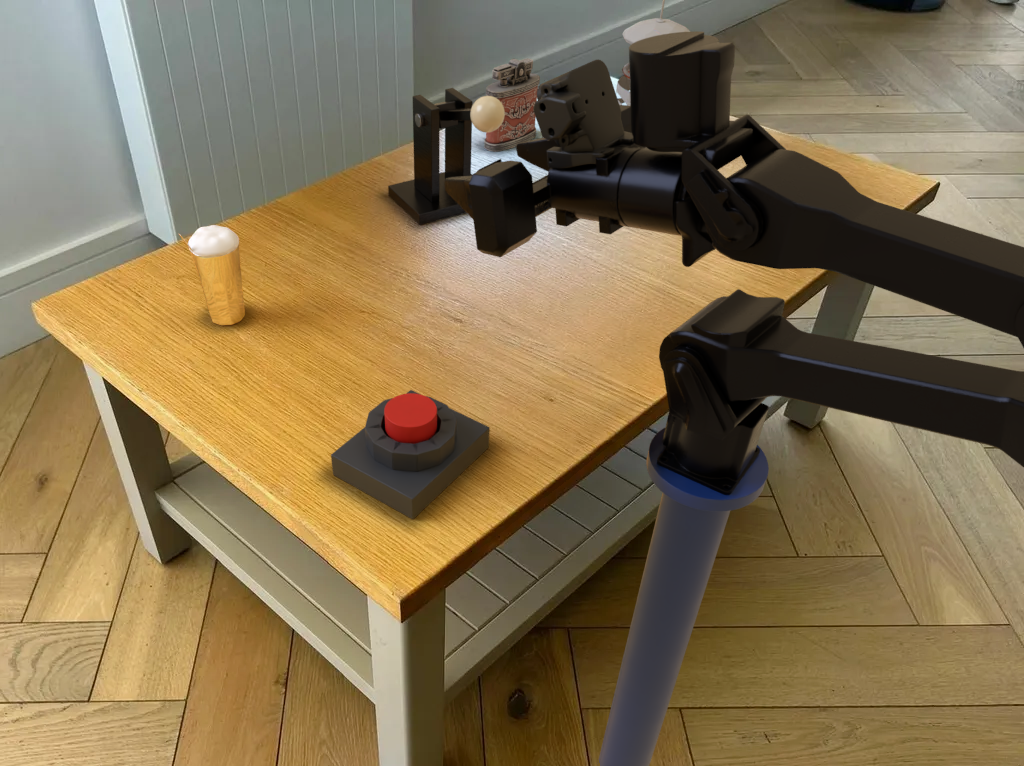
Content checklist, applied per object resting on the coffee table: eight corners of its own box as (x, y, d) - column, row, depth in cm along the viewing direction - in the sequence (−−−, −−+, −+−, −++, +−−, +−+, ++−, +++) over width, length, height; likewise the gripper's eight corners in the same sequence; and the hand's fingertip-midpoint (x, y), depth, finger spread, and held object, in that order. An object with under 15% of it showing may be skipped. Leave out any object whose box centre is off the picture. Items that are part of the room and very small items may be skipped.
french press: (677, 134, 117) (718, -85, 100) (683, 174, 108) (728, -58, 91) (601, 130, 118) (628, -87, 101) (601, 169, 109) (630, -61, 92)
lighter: (523, 128, 118) (528, 49, 112) (541, 136, 117) (547, 57, 110) (478, 145, 115) (480, 65, 108) (496, 154, 113) (499, 73, 106)
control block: (489, 447, 73) (490, 409, 70) (413, 520, 67) (411, 481, 64) (411, 409, 76) (410, 372, 74) (332, 475, 70) (328, 437, 68)
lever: (513, 128, 89) (508, 92, 87) (483, 135, 87) (478, 98, 86) (452, 128, 100) (447, 95, 98) (425, 134, 98) (420, 101, 97)
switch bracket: (497, 204, 103) (501, 102, 95) (419, 225, 100) (417, 120, 92) (462, 177, 108) (464, 77, 100) (388, 195, 105) (384, 94, 97)
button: (447, 423, 69) (447, 406, 68) (415, 451, 67) (415, 434, 66) (406, 403, 71) (406, 386, 70) (374, 430, 69) (373, 413, 68)
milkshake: (188, 318, 87) (166, 224, 80) (235, 298, 89) (219, 205, 82) (211, 338, 84) (191, 243, 77) (260, 317, 87) (245, 223, 80)
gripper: (708, 39, 67) (544, 37, 77) (552, 113, 57) (387, 100, 67) (705, 186, 73) (553, 166, 83) (564, 275, 63) (411, 240, 73)
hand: (483, 166), depth 76 cm, fingers open, 9 cm apart
